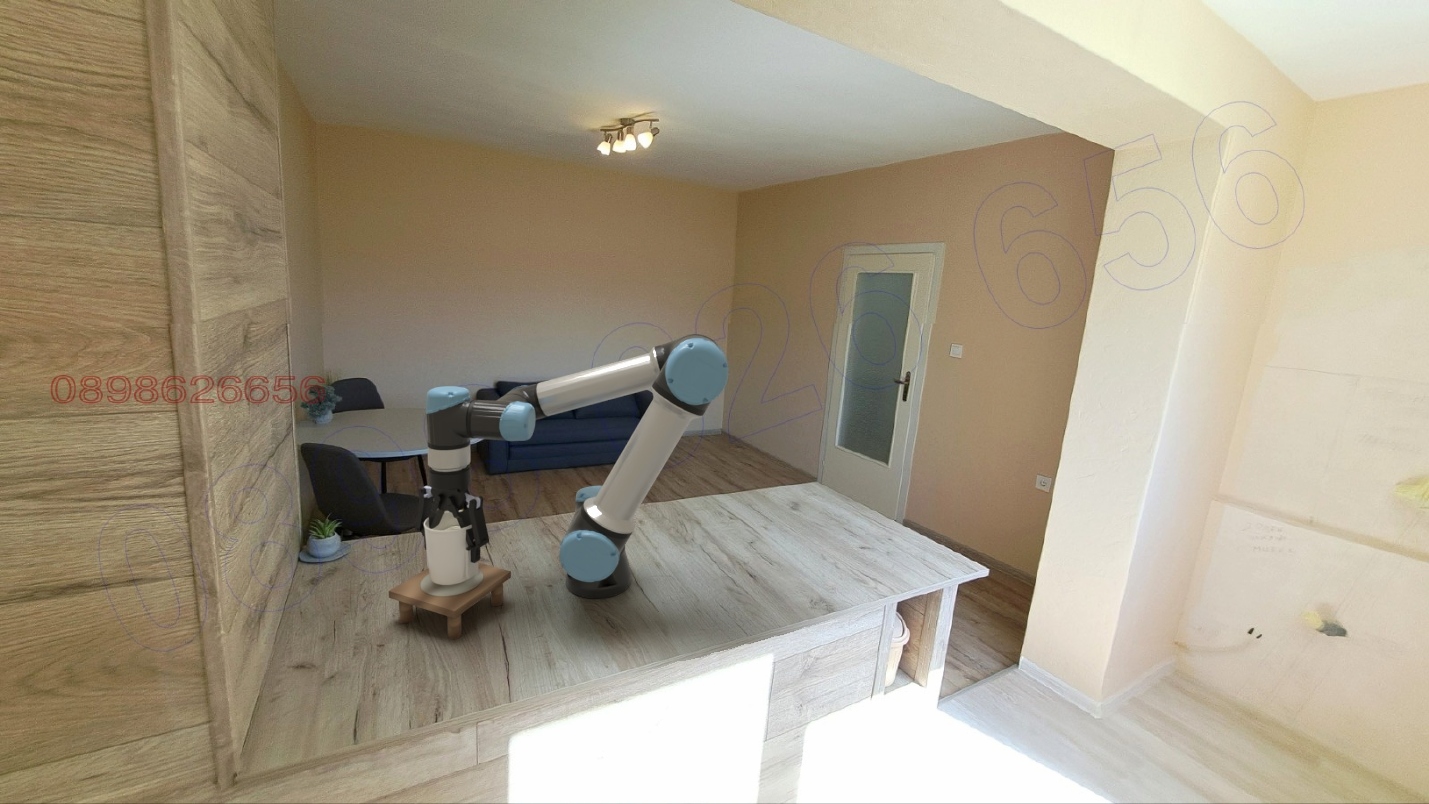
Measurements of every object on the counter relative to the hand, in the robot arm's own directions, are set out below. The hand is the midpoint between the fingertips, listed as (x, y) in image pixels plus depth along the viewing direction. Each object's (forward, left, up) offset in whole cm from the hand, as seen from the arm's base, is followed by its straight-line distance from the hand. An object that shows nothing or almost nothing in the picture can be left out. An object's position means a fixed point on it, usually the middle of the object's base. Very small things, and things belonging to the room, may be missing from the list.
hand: (452, 569), depth 110 cm
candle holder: (0, 0, -1) cm, 1 cm away
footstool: (0, 0, -9) cm, 9 cm away
